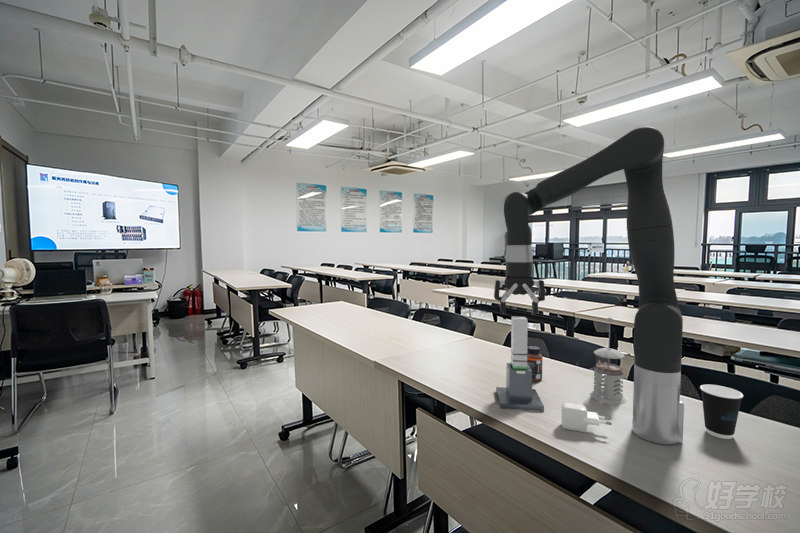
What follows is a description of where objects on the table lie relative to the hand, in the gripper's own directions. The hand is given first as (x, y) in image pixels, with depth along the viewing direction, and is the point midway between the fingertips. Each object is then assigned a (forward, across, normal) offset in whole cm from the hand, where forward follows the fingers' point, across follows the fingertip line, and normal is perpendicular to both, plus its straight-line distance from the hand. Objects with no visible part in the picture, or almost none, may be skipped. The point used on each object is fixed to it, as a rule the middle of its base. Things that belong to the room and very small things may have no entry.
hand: (518, 314), depth 105 cm
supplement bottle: (+27, +8, +19) cm, 34 cm away
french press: (+27, +27, +6) cm, 39 cm away
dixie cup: (+27, +46, -12) cm, 55 cm away
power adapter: (+27, +14, -15) cm, 34 cm away
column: (+19, 0, 0) cm, 19 cm away
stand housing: (+26, 0, 0) cm, 26 cm away
